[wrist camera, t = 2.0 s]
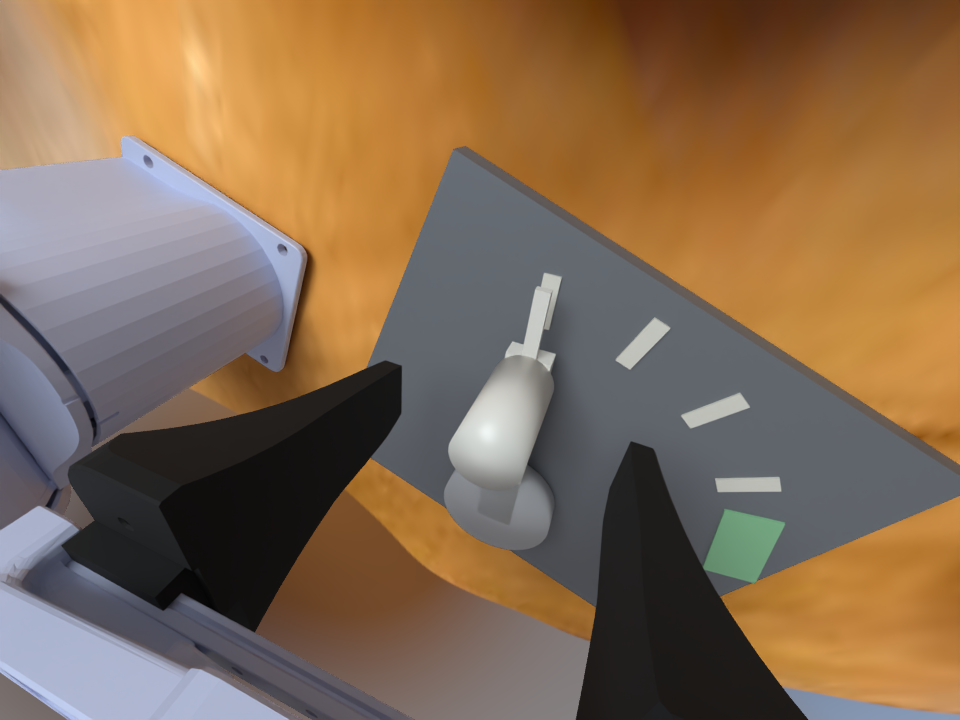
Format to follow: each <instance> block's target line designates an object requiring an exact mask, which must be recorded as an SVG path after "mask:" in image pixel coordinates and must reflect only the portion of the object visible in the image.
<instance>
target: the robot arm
mask: <svg viewBox="0 0 960 720" xmlns="http://www.w3.org/2000/svg"><path fill="white" fill-rule="evenodd" d="M121 152H122V157H115V158H106V159H97V160H88V161H78V162H69V163H60V164H51V165H42V166H33V167H24V168H15V169H6V170H0V673H2V674H3V675H5V676H6V677H8V678H9V679H10V680H12V681H13V682H15V683H16V684H18V685H19V686H20V687H22V688H23V689H25V690H26V691H28V692H29V693H31V694H32V695H33V696H35V697H36V698H38V699H39V700H41V701H42V702H44V703H45V704H46V705H48V706H49V707H51V708H52V709H53V710H55V711H56V712H58V713H59V714H61V715H62V716H64V717H65V718H66V719H68V720H302V719H301V718H299V717H297V716H296V715H294V714H292V713H290V712H289V711H287V710H285V709H283V708H282V707H280V706H278V705H277V704H275V703H273V702H271V701H270V700H268V699H266V698H265V697H263V696H261V695H260V694H258V693H256V692H254V691H253V690H251V689H249V688H247V687H246V686H244V685H242V684H241V683H239V682H237V681H236V680H234V678H233V676H232V675H230V674H229V673H228V672H226V671H225V670H224V669H226V670H227V671H229V672H231V673H233V674H234V675H236V676H238V677H239V678H241V679H243V680H245V681H246V682H248V683H250V684H252V685H253V686H255V687H257V688H258V689H260V690H262V691H264V692H265V693H267V694H269V695H270V696H272V697H274V698H276V699H277V700H279V701H281V702H283V703H285V704H286V705H288V706H289V707H291V708H293V709H295V710H296V711H298V712H300V713H302V714H303V715H305V716H307V717H308V718H310V719H312V720H414V719H413V718H411V717H409V716H407V715H405V714H403V713H402V712H400V711H398V710H396V709H394V708H392V707H390V706H388V705H387V704H385V703H383V702H381V701H379V700H378V699H376V698H374V697H372V696H370V695H368V694H366V693H365V692H363V691H361V690H359V689H357V688H356V687H354V686H352V685H350V684H348V683H346V682H345V681H342V680H341V679H339V678H337V677H335V676H333V675H332V674H330V673H328V672H326V671H324V670H322V669H321V668H319V667H317V666H315V665H313V664H311V663H309V662H308V661H306V660H304V659H302V658H300V657H298V656H297V655H295V654H293V653H291V652H289V651H287V650H286V649H284V648H282V647H280V646H278V645H276V644H274V643H272V642H271V641H269V640H267V639H265V638H264V637H262V636H260V635H258V634H256V633H255V631H256V629H257V627H258V625H259V624H260V622H261V620H262V618H263V616H264V615H265V613H266V611H267V609H268V607H269V606H270V604H271V602H272V600H273V599H274V597H275V595H276V593H277V591H278V590H279V588H280V586H281V585H282V583H283V581H284V580H285V578H286V576H287V575H288V573H289V571H290V570H291V568H292V566H293V565H294V563H295V561H296V560H297V558H298V556H299V555H300V553H301V551H302V550H303V548H304V547H305V545H306V544H307V542H308V541H309V539H310V537H311V536H312V534H313V533H314V531H315V530H316V528H317V526H318V525H319V524H320V522H321V521H322V519H323V518H324V516H325V515H326V513H327V512H328V510H329V509H330V507H331V506H332V504H333V503H334V501H335V500H336V499H337V498H338V496H339V495H340V493H341V492H342V491H343V490H344V489H345V487H346V486H347V485H348V484H349V483H350V481H351V480H352V479H353V478H354V477H355V475H356V474H357V473H358V472H359V471H360V470H361V468H362V467H363V466H364V465H365V464H366V462H367V461H368V460H369V459H370V458H371V456H372V455H373V454H374V453H375V452H376V450H377V449H378V448H379V447H380V445H381V444H382V443H383V442H384V440H385V439H386V438H387V436H388V435H389V433H390V432H391V430H392V429H393V427H394V425H395V424H396V422H397V420H398V419H399V417H400V415H401V412H402V366H401V365H398V364H395V363H392V362H389V361H386V360H385V361H382V362H380V363H377V364H375V365H373V366H370V367H368V368H366V369H364V370H362V371H359V372H357V373H355V374H353V375H351V376H348V377H346V378H344V379H341V380H339V381H337V382H335V383H332V384H330V385H328V386H325V387H323V388H320V389H318V390H315V391H313V392H310V393H308V394H305V395H302V396H300V397H297V398H295V399H292V400H289V401H286V402H283V403H280V404H277V405H274V406H270V407H267V408H264V409H261V410H257V411H253V412H249V413H245V414H241V415H237V416H233V417H229V418H225V419H221V420H216V421H211V422H205V423H200V424H195V425H188V426H182V427H176V428H169V429H160V430H152V431H143V432H134V433H124V434H120V435H118V436H117V437H115V438H114V439H112V440H110V441H109V442H107V443H106V444H104V445H102V446H101V447H99V448H98V449H96V450H95V451H93V452H92V448H91V447H93V446H95V445H96V444H98V443H100V442H102V441H103V440H105V439H106V438H108V437H110V436H111V435H113V434H115V433H116V432H118V431H119V430H121V429H123V428H124V427H126V426H128V425H129V424H131V423H132V422H134V421H135V420H137V419H138V418H141V417H142V416H144V415H145V414H147V413H149V412H150V411H152V410H153V409H155V408H157V407H158V406H160V405H162V404H163V403H165V402H167V401H168V400H170V399H171V398H173V397H175V396H176V395H178V394H180V393H181V392H183V391H184V390H186V389H188V388H189V387H191V386H193V385H194V384H196V383H197V382H199V381H201V380H202V379H204V378H206V377H207V376H209V375H210V374H212V373H214V372H215V371H217V370H219V369H220V368H222V367H223V366H225V365H227V364H228V363H230V362H232V361H233V360H235V359H236V358H238V357H240V356H241V355H243V354H245V353H246V354H247V355H249V356H250V357H252V358H253V359H255V360H256V361H258V362H259V363H261V364H263V365H264V366H266V367H267V368H269V369H270V370H272V371H274V372H278V371H280V370H282V369H283V368H284V366H285V361H286V357H287V352H288V347H289V343H290V338H291V333H292V329H293V324H294V319H295V315H296V310H297V305H298V301H299V296H300V291H301V287H302V282H303V277H304V273H305V268H306V263H307V254H306V251H305V249H304V248H303V247H302V246H301V245H300V244H299V243H297V242H296V241H294V240H292V239H291V238H289V237H288V236H286V235H285V234H283V233H282V232H280V231H279V230H277V229H276V228H274V227H273V226H271V225H270V224H268V223H267V222H265V221H263V220H262V219H260V218H259V217H257V216H256V215H254V214H253V213H251V212H250V211H248V210H247V209H245V208H244V207H242V206H241V205H239V204H238V203H236V202H234V201H233V200H231V199H230V198H228V197H227V196H225V195H224V194H222V193H221V192H219V191H218V190H216V189H215V188H213V187H212V186H210V185H209V184H207V183H206V182H204V181H202V180H201V179H199V178H198V177H196V176H195V175H193V174H192V173H190V172H189V171H187V170H186V169H184V168H183V167H181V166H180V165H178V164H177V163H175V162H173V161H172V160H170V159H169V158H167V157H166V156H164V155H163V154H161V153H160V152H158V151H157V150H155V149H154V148H152V147H151V146H149V145H148V144H146V143H144V142H143V141H141V140H140V139H138V138H137V137H135V136H125V137H122V139H121ZM284 246H285V247H286V248H287V251H286V250H285V248H284ZM70 484H71V485H72V487H73V489H74V490H75V492H76V493H77V495H78V496H79V498H80V499H81V501H82V502H83V504H84V505H85V507H86V508H87V509H88V511H89V513H90V514H91V515H92V517H93V518H94V520H95V521H93V522H92V523H91V524H89V525H88V526H87V527H85V528H84V529H82V528H81V527H79V526H78V525H77V524H76V523H75V522H73V521H72V520H70V519H68V518H66V517H64V516H63V515H64V514H65V511H66V509H67V507H68V505H69V502H70V497H71V485H70ZM221 667H222V668H224V669H222V668H221ZM576 720H808V719H807V717H806V716H805V715H804V714H803V713H802V711H801V710H800V709H799V708H798V706H797V705H796V704H795V703H794V702H793V700H792V699H791V698H790V697H789V695H788V694H787V693H786V692H785V690H784V689H783V688H782V686H781V685H780V684H779V682H778V681H777V680H776V678H775V677H774V676H773V674H772V673H771V672H770V670H769V669H768V668H767V666H766V665H765V664H764V662H763V661H762V660H761V658H760V657H759V655H758V654H757V653H756V651H755V650H754V648H753V647H752V645H751V644H750V642H749V641H748V639H747V638H746V636H745V635H744V633H743V632H742V630H741V629H740V627H739V626H738V624H737V623H736V622H735V620H734V619H733V617H732V616H731V614H730V613H729V611H728V609H727V608H726V606H725V605H724V603H723V601H722V600H721V598H720V596H719V595H718V593H717V591H716V590H715V588H714V586H713V584H712V583H711V581H710V579H709V577H708V576H707V574H706V572H705V570H704V568H703V566H702V565H701V563H700V561H699V559H698V557H697V555H696V553H695V551H694V549H693V547H692V545H691V543H690V540H689V538H688V536H687V534H686V532H685V530H684V528H683V525H682V523H681V521H680V518H679V516H678V514H677V511H676V509H675V506H674V504H673V501H672V499H671V496H670V494H669V491H668V488H667V486H666V483H665V480H664V477H663V474H662V471H661V468H660V465H659V462H658V459H657V455H656V452H655V451H654V449H653V448H651V447H648V446H645V445H642V444H639V443H636V442H632V441H631V442H630V444H629V446H628V448H627V451H626V453H625V455H624V457H623V459H622V462H621V464H620V466H619V468H618V470H617V473H616V475H615V477H614V479H613V482H612V484H611V486H610V488H609V493H608V498H607V503H606V508H605V513H604V518H603V526H602V539H601V552H600V566H599V580H598V594H597V604H596V612H595V619H594V624H593V630H592V636H591V642H590V648H589V653H588V659H587V664H586V669H585V675H584V680H583V686H582V691H581V696H580V701H579V706H578V711H577V716H576Z"/></svg>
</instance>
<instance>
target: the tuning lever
mask: <svg viewBox="0 0 960 720" xmlns="http://www.w3.org/2000/svg"><path fill="white" fill-rule="evenodd" d="M552 292H553V290H551V289H547V288H543V287H539V286H537V287H536V289H535V293H534V297H533V302H532V307H531V312H530V317H529V321H528V326H527V331H526V336H525V341H524V345H523V344H520V343H516V342H513V341H512V343H511V344H510V346H509V348H508V349H507V351H506V354H505V358H504V359H502V360H501V361H500V362H499V363H498V364H497V366H496V367H495V369H494V371H493V372H492V374H491V375H490V377H489V379H488V380H487V382H486V384H485V385H484V387H483V389H482V390H481V392H480V393H479V395H478V397H477V398H476V400H475V402H474V403H473V405H472V407H471V408H470V410H469V411H468V413H467V415H466V416H465V418H464V420H463V421H462V423H461V425H460V426H459V428H458V429H457V431H456V433H455V434H454V436H453V438H452V439H451V441H450V443H449V447H448V453H449V457H450V460H451V463H452V464H453V466H454V467H455V470H454V472H453V474H452V476H451V477H450V479H449V481H448V483H447V485H446V487H445V490H444V501H445V505H446V507H447V510H448V512H449V513H450V515H451V516H452V518H453V519H454V520H455V522H456V523H457V524H458V525H459V526H460V527H461V528H462V529H464V530H465V531H466V532H467V533H469V534H470V535H472V536H473V537H475V538H476V539H478V540H480V541H482V542H484V543H487V544H489V545H492V546H495V547H498V548H502V549H508V550H525V549H530V548H533V547H535V546H537V545H539V544H540V543H541V542H543V540H544V539H545V538H546V536H547V534H548V531H549V527H550V523H551V519H552V515H553V511H554V505H555V502H554V496H553V493H552V491H551V489H550V487H549V485H548V484H547V482H546V481H545V480H544V479H543V477H542V476H541V475H540V474H539V473H538V472H536V471H535V470H534V469H533V468H531V467H530V466H528V465H527V463H528V460H529V458H530V455H531V452H532V449H533V447H534V444H535V441H536V438H537V436H538V433H539V430H540V427H541V425H542V422H543V419H544V416H545V414H546V411H547V408H548V405H549V403H550V400H551V397H552V394H553V392H554V381H553V377H552V375H551V371H552V367H553V363H554V359H555V356H556V354H554V353H551V352H547V351H544V350H540V349H539V348H540V343H541V339H542V335H543V331H544V326H545V322H546V318H547V314H548V309H549V305H550V301H551V297H552Z"/></svg>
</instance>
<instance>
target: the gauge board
mask: <svg viewBox="0 0 960 720" xmlns="http://www.w3.org/2000/svg"><path fill="white" fill-rule="evenodd" d="M537 286H539V287H543V288H547V289H551V290H553V292H552V297H551V301H550V305H549V309H548V314H547V318H546V322H545V326H544V331H543V335H542V339H541V343H540V348H539V349H540V350H544V351H547V352H551V353H554V354H556V356H555V359H554V363H553V367H552V371H551V375H552V377H553V381H554V392H553V394H552V397H551V400H550V403H549V405H548V408H547V411H546V414H545V416H544V419H543V422H542V425H541V427H540V430H539V433H538V436H537V438H536V441H535V444H534V447H533V449H532V452H531V455H530V458H529V460H528V463H527V465H528V466H530V467H531V468H533V469H534V470H535V471H536V472H538V473H539V474H540V475H541V476H542V477H543V479H544V480H545V481H546V482H547V484H548V485H549V487H550V489H551V491H552V493H553V496H554V502H555V505H554V511H553V515H552V519H551V523H550V527H549V531H548V534H547V536H546V538H545V539H544V540H543V542H541V543H540V544H539V545H537V546H535V547H533V548H530V549H525V550H510V551H512V552H513V553H515V554H516V555H518V556H519V557H521V558H522V559H524V560H525V561H527V562H528V563H530V564H531V565H533V566H534V567H536V568H537V569H539V570H540V571H542V572H543V573H545V574H546V575H548V576H549V577H551V578H552V579H554V580H555V581H557V582H558V583H560V584H561V585H563V586H564V587H566V588H568V589H569V590H571V591H572V592H574V593H575V594H577V595H578V596H580V597H581V598H583V599H584V600H586V601H587V602H589V603H590V604H592V605H593V606H595V607H596V604H597V594H598V580H599V566H600V552H601V539H602V526H603V518H604V513H605V508H606V503H607V498H608V493H609V488H610V486H611V484H612V482H613V479H614V477H615V475H616V473H617V470H618V468H619V466H620V464H621V462H622V459H623V457H624V455H625V453H626V451H627V448H628V446H629V444H630V442H631V441H632V442H636V443H639V444H642V445H645V446H648V447H651V448H653V449H654V451H655V452H656V455H657V459H658V462H659V465H660V468H661V471H662V474H663V477H664V480H665V483H666V486H667V488H668V491H669V494H670V496H671V499H672V501H673V504H674V506H675V509H676V511H677V514H678V516H679V518H680V521H681V523H682V525H683V528H684V530H685V532H686V534H687V536H688V538H689V540H690V543H691V545H692V547H693V549H694V551H695V553H696V555H697V557H698V559H699V561H700V563H701V565H702V566H703V568H704V570H705V572H706V574H707V576H708V577H709V579H710V581H711V583H712V584H713V586H714V588H715V590H716V591H717V593H718V595H719V596H722V595H724V594H727V593H729V592H732V591H734V590H736V589H739V588H741V587H744V586H746V585H748V584H751V583H756V581H758V580H760V579H763V578H765V577H767V576H770V575H772V574H774V573H777V572H779V571H782V570H784V569H786V568H789V567H791V566H794V565H796V564H798V563H801V562H803V561H805V560H808V559H810V558H813V557H815V556H817V555H820V554H822V553H825V552H827V551H829V550H832V549H834V548H836V547H839V546H841V545H844V544H846V543H848V542H851V541H853V540H856V539H858V538H860V537H863V536H865V535H867V534H870V533H872V532H875V531H877V530H879V529H882V528H884V527H886V526H889V525H891V524H894V523H896V522H898V521H901V520H903V519H906V518H908V517H910V516H913V515H915V514H917V513H920V512H922V511H925V510H927V509H929V508H932V507H934V506H937V505H939V504H941V503H944V502H946V501H948V500H951V499H953V498H956V497H958V496H960V465H959V464H957V463H956V462H954V461H953V460H951V459H950V458H948V457H947V456H945V455H943V454H942V453H940V452H939V451H937V450H936V449H934V448H933V447H931V446H929V445H928V444H926V443H925V442H923V441H922V440H920V439H919V438H917V437H916V436H914V435H912V434H911V433H909V432H908V431H906V430H905V429H903V428H902V427H900V426H898V425H897V424H895V423H894V422H892V421H891V420H889V419H888V418H886V417H885V416H883V415H881V414H880V413H878V412H877V411H875V410H874V409H872V408H871V407H869V406H867V405H866V404H864V403H863V402H861V401H860V400H858V399H857V398H855V397H854V396H852V395H850V394H849V393H847V392H846V391H844V390H843V389H841V388H840V387H838V386H836V385H835V384H833V383H832V382H830V381H829V380H827V379H826V378H824V377H823V376H821V375H819V374H818V373H816V372H815V371H813V370H812V369H810V368H809V367H807V366H805V365H804V364H802V363H801V362H799V361H798V360H796V359H795V358H793V357H792V356H790V355H788V354H787V353H785V352H784V351H782V350H781V349H779V348H778V347H776V346H774V345H773V344H771V343H770V342H768V341H767V340H765V339H764V338H762V337H761V336H759V335H757V334H756V333H754V332H753V331H751V330H750V329H748V328H747V327H745V326H744V325H742V324H740V323H739V322H737V321H736V320H734V319H733V318H731V317H730V316H728V315H726V314H725V313H723V312H722V311H720V310H719V309H717V308H716V307H714V306H713V305H711V304H709V303H708V302H706V301H705V300H703V299H702V298H700V297H699V296H697V295H695V294H694V293H692V292H691V291H689V290H688V289H686V288H685V287H683V286H682V285H680V284H678V283H677V282H675V281H674V280H672V279H671V278H669V277H668V276H666V275H664V274H663V273H661V272H660V271H658V270H657V269H655V268H654V267H652V266H651V265H649V264H647V263H646V262H644V261H643V260H641V259H640V258H638V257H637V256H635V255H633V254H632V253H630V252H629V251H627V250H626V249H624V248H623V247H621V246H620V245H618V244H616V243H615V242H613V241H612V240H610V239H609V238H607V237H606V236H604V235H602V234H601V233H599V232H598V231H596V230H595V229H593V228H592V227H590V226H589V225H587V224H585V223H584V222H582V221H581V220H579V219H578V218H576V217H575V216H573V215H571V214H570V213H568V212H567V211H565V210H564V209H562V208H561V207H559V206H558V205H556V204H554V203H553V202H551V201H550V200H548V199H547V198H545V197H544V196H542V195H540V194H539V193H537V192H536V191H534V190H533V189H531V188H530V187H528V186H527V185H525V184H523V183H522V182H520V181H519V180H517V179H516V178H514V177H513V176H511V175H509V174H508V173H506V172H505V171H503V170H502V169H500V168H499V167H497V166H496V165H494V164H492V163H491V162H489V161H488V160H486V159H485V158H483V157H482V156H480V155H478V154H477V153H475V152H474V151H472V150H471V149H469V148H468V147H466V146H464V147H460V148H456V149H453V152H452V154H451V157H450V159H449V162H448V164H447V167H446V169H445V172H444V174H443V177H442V179H441V182H440V184H439V187H438V190H437V192H436V195H435V197H434V200H433V202H432V205H431V207H430V210H429V212H428V215H427V217H426V220H425V222H424V225H423V227H422V230H421V232H420V235H419V237H418V240H417V242H416V245H415V247H414V250H413V252H412V255H411V257H410V260H409V263H408V265H407V268H406V270H405V273H404V275H403V278H402V280H401V283H400V285H399V288H398V290H397V293H396V295H395V298H394V300H393V303H392V305H391V308H390V310H389V313H388V315H387V318H386V320H385V323H384V325H383V328H382V330H381V333H380V336H379V338H378V341H377V343H376V346H375V348H374V351H373V353H372V356H371V358H370V361H369V363H368V366H367V368H368V367H370V366H373V365H375V364H377V363H380V362H382V361H385V360H386V361H389V362H392V363H395V364H398V365H401V366H402V412H401V415H400V417H399V419H398V420H397V422H396V424H395V425H394V427H393V429H392V430H391V432H390V433H389V435H388V436H387V438H386V439H385V440H384V442H383V443H382V444H381V445H380V447H379V448H378V449H377V450H376V452H375V453H374V454H373V455H372V456H371V458H372V459H373V460H375V461H376V462H378V463H379V464H381V465H382V466H384V467H385V468H387V469H388V470H390V471H391V472H393V473H394V474H396V475H397V476H399V477H400V478H402V479H403V480H405V481H406V482H408V483H409V484H411V485H412V486H414V487H415V488H417V489H418V490H420V491H421V492H423V493H424V494H426V495H427V496H429V497H430V498H432V499H433V500H435V501H436V502H438V503H439V504H441V505H442V506H444V507H445V508H447V507H446V505H445V501H444V490H445V487H446V485H447V483H448V481H449V479H450V477H451V476H452V474H453V472H454V470H455V467H454V466H453V464H452V463H451V460H450V457H449V453H448V447H449V443H450V441H451V439H452V438H453V436H454V434H455V433H456V431H457V429H458V428H459V426H460V425H461V423H462V421H463V420H464V418H465V416H466V415H467V413H468V411H469V410H470V408H471V407H472V405H473V403H474V402H475V400H476V398H477V397H478V395H479V393H480V392H481V390H482V389H483V387H484V385H485V384H486V382H487V380H488V379H489V377H490V375H491V374H492V372H493V371H494V369H495V367H496V366H497V364H498V363H499V362H500V361H501V360H502V359H504V358H505V354H506V351H507V349H508V348H509V346H510V344H511V343H512V341H513V342H516V343H520V344H523V345H524V341H525V336H526V331H527V326H528V321H529V317H530V312H531V307H532V302H533V297H534V293H535V289H536V287H537Z"/></svg>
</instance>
